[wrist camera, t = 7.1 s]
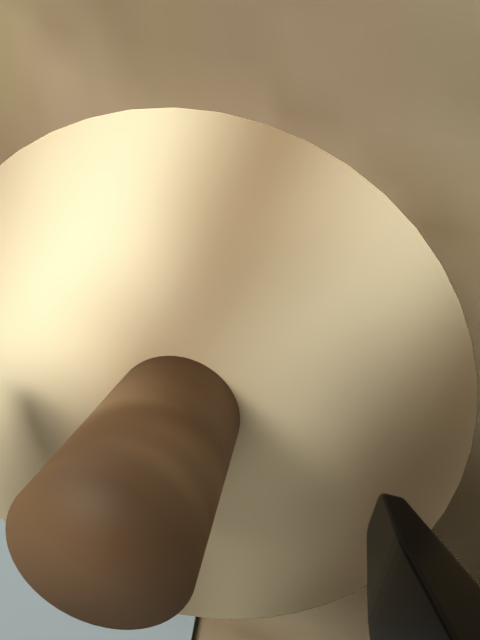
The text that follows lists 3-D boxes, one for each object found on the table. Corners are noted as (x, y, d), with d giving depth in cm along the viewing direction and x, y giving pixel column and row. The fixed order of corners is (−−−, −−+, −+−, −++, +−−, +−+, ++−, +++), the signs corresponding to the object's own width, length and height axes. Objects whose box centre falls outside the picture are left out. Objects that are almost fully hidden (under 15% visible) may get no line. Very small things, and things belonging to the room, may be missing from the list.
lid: (561, 176, 8) (873, 190, 4) (372, 635, 13) (406, 900, 8) (-64, 66, 9) (-427, -31, 5) (-35, 523, 14) (-207, 700, 9)
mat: (207, 557, 20) (205, 566, 19) (167, 761, 25) (165, 772, 25) (-116, 470, 21) (-126, 477, 21) (-86, 682, 27) (-93, 691, 26)
